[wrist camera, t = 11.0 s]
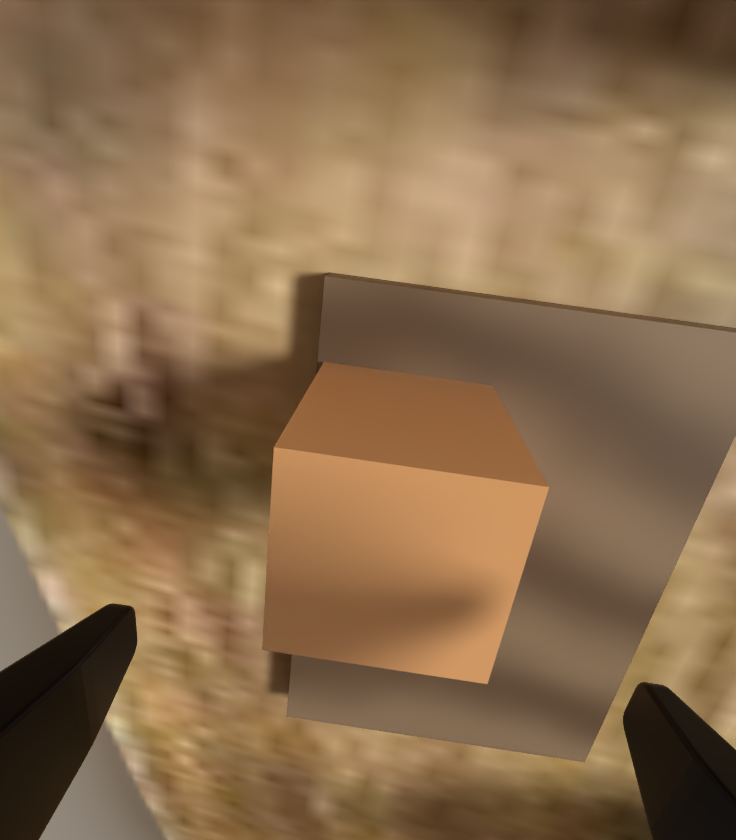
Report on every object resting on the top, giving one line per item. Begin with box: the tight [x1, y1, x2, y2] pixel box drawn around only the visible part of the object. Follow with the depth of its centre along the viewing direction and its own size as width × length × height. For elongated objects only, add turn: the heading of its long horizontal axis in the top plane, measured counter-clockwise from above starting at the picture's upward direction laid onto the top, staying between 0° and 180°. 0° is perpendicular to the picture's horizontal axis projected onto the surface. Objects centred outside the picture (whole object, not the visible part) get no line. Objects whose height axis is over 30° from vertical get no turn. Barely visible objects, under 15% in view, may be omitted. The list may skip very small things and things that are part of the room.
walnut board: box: [287, 273, 736, 762], centre depth 19 cm, size 20×14×1 cm
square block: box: [262, 362, 549, 684], centre depth 14 cm, size 6×6×7 cm
